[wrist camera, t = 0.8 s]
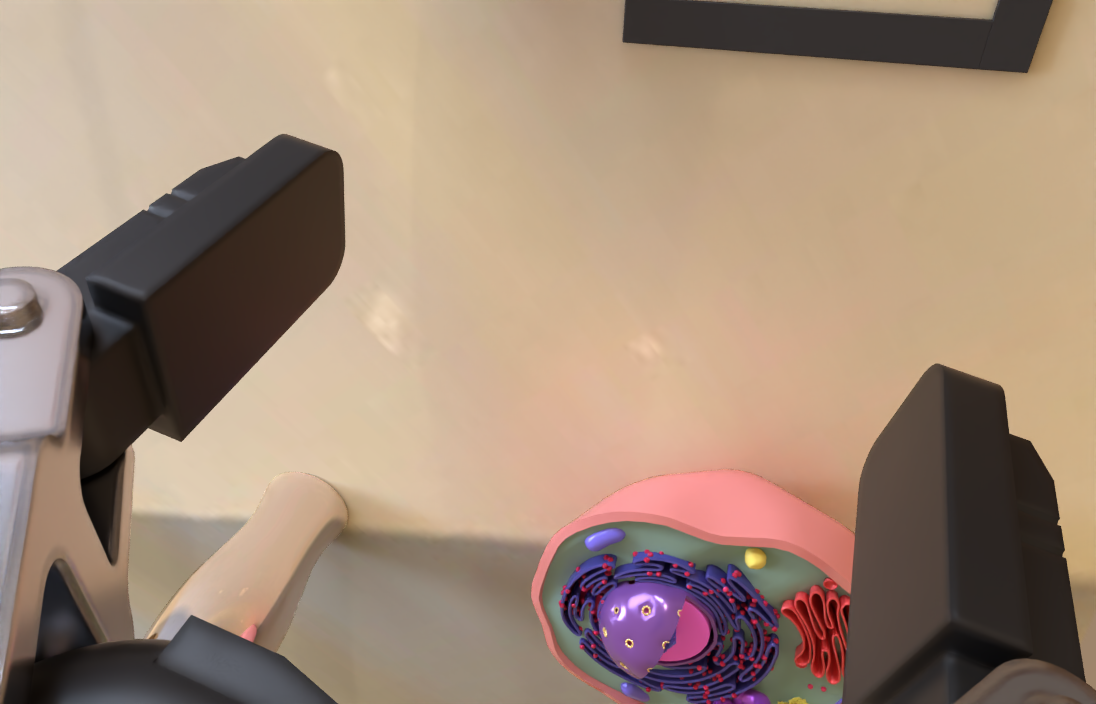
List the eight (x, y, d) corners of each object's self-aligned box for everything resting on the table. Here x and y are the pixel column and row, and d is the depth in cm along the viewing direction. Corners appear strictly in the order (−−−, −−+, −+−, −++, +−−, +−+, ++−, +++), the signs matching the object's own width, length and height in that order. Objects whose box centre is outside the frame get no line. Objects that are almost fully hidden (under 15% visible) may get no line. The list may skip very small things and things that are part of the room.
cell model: (787, 666, 53) (790, 841, 44) (521, 536, 52) (468, 686, 43) (960, 517, 43) (1011, 703, 34) (636, 354, 42) (598, 499, 33)
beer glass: (325, 460, 53) (191, 649, 41) (371, 535, 56) (259, 731, 44) (245, 471, 55) (97, 652, 43) (293, 542, 59) (167, 729, 46)
